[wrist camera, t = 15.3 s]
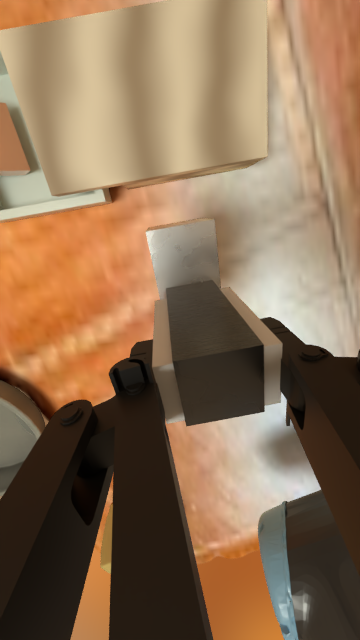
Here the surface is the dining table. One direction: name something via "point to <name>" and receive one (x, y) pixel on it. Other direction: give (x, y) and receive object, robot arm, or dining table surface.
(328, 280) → the dining table surface
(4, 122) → the tile
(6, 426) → the cake pan
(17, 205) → the box
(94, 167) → the ledge
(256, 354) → the scraper
